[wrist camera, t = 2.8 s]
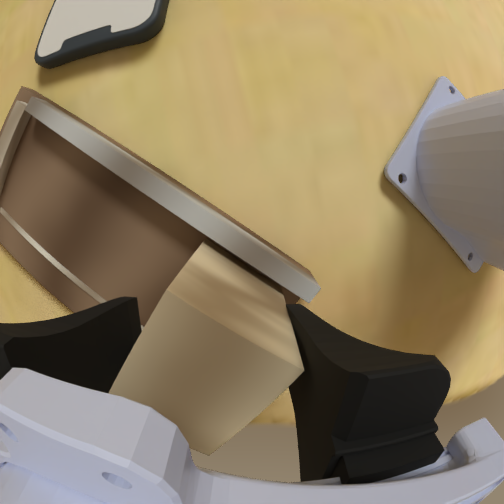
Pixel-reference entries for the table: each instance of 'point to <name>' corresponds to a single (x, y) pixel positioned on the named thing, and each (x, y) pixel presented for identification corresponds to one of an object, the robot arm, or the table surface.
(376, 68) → the table surface
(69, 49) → the smartphone
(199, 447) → the block
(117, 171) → the board
